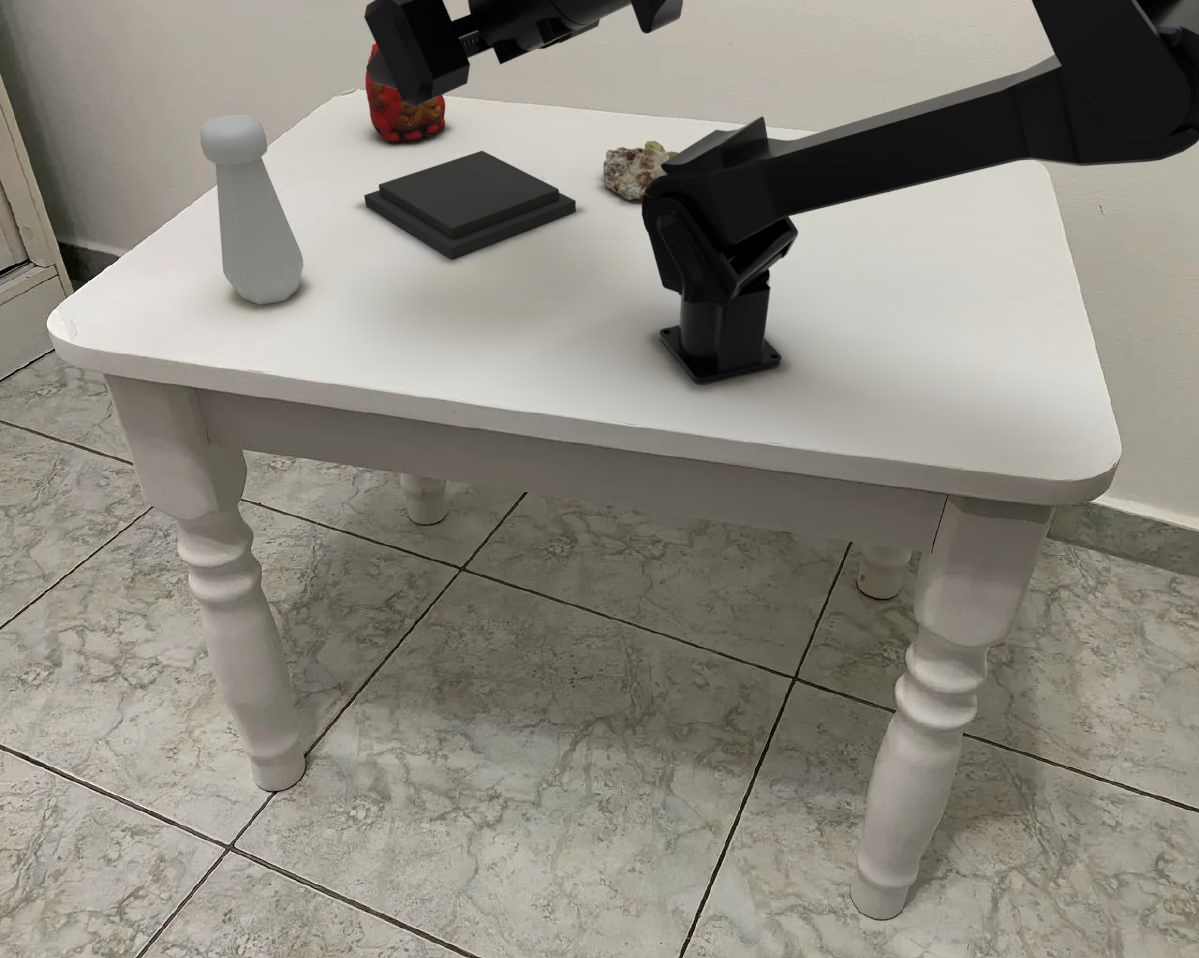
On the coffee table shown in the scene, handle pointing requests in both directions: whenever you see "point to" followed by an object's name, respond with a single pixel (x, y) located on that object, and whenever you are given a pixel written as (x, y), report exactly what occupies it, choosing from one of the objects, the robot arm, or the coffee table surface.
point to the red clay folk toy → (402, 112)
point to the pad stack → (468, 203)
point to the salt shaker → (250, 213)
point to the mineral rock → (634, 168)
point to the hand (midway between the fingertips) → (417, 56)
